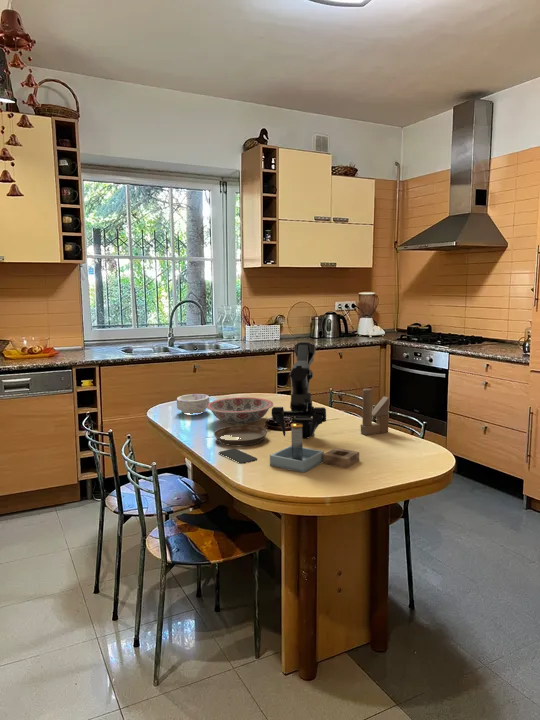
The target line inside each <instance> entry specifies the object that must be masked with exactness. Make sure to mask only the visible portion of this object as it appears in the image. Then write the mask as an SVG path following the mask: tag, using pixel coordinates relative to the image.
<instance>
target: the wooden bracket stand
mask: <svg viewBox="0 0 540 720" xmlns="http://www.w3.org/2000/svg"><path fill="white" fill-rule="evenodd" d="M389 399H390V397H387V396H382V397H381V399H380V400H379V401H378V403H377V404H376V405H375V406H374V407H373V390H372V389H371V388H363V389H362V424H360V434H362V435H364V436H371V435H375V434H376V435H377V434H385V433H386V432H387V433H389V414H390V413H389V411H390V409H389V406H390V405H389V403H390V401H389ZM373 417H374V418H375V417H376V418H375V419H376V420H375V421H376V422H375V423H373Z"/></svg>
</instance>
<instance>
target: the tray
mask: <svg viewBox="0 0 540 720" xmlns="http://www.w3.org/2000/svg"><path fill="white" fill-rule="evenodd" d="M323 454H325V451H324V450H318V449H313V448H309V447H303V461H300V460H295V459H292V444H291V445H289V446H287V447H284V448H283V449H281V450H278V451H276V452H274V453H272V454H269V466H271V467H275V468H281V469H284V470H289V471H293V472H298V473H302V474H304V473H306V472H308V471H310V470H312V469H313V468H315V467H317V466H318V465H320V464H323Z"/></svg>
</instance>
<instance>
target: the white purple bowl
mask: <svg viewBox="0 0 540 720" xmlns="http://www.w3.org/2000/svg"><path fill="white" fill-rule="evenodd" d="M208 403H210V396H209V395H208V394H203V393H194V394H193V393H191V394H183V395H181V396H177V398H176V409H177V410H179V411H181V413H182V412H183V413H190V414H193V413H201V412H204V411H205V412H206V410H207V407H206V406H207V404H208ZM205 412H204V413H205ZM183 413H182V414H183Z"/></svg>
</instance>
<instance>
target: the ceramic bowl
mask: <svg viewBox="0 0 540 720" xmlns="http://www.w3.org/2000/svg"><path fill="white" fill-rule="evenodd" d="M206 407H207V408H206V410H209V411H211V413H212V415H213V416H214V417H216V419H218V420H220V421H221V422H224V423H227V424H232V425H233V424H235V425H246V424H251V423H254V422H257V421H259V420H261V419H262V418H263V417H264V416H265V415H266V414H267V412H269V410H270V409H272V408H273V407H274V402H273V401H271V400H269V399H266V398H260V397H250V396H249V397H248V396H247V397H241V396H240V397H227V398H221V399H216V400H213V401H209V403H208V404H207V406H206Z"/></svg>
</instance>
